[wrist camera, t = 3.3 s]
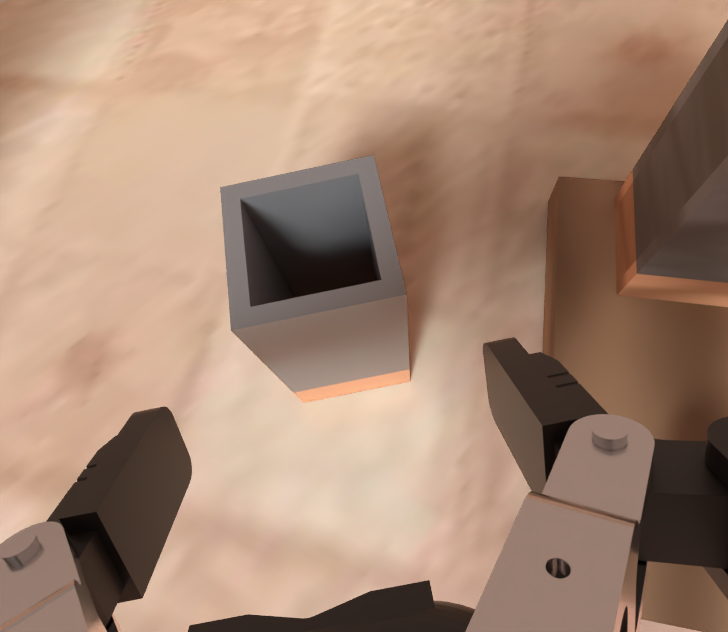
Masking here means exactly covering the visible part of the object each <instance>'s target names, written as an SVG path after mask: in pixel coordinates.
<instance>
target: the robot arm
mask: <svg viewBox="0 0 728 632" xmlns="http://www.w3.org/2000/svg"><path fill="white" fill-rule="evenodd" d="M483 355H484V364H485V373H486V381H487V390H488V398H489V404H490V408H491V412H492V415H493V418H494V420H495V422H496V424H497V426H498V428H499V430H500V432H501V434H502V436H503V438H504V439H505V441H506V443H507V445H508V447H509V449H510V451H511V453H512V454H513V456H514V458H515V460H516V462H517V464H518V466H519V468H520V470H521V471H522V473H523V475H524V477H525V479H526V481H527V483H528V485H529V487H530V488H531V490H532V491H531V492H529V493H528V495H527V496H526V498H525V500H524V502H523V504H522V506H521V508H520V511H519V513H518V515H517V517H516V520H515V522H514V524H513V526H512V529H511V531H510V533H509V535H508V538H507V540H506V542H505V544H504V546H503V549H502V551H501V553H500V555H499V558H498V560H497V562H496V564H495V567H494V569H493V571H492V573H491V576H490V578H489V580H488V582H487V585H486V587H485V589H484V591H483V593H482V596H481V598H480V600H479V602H478V605H477V607H476V609H472V608H469V607H466V606H463V605H460V604H455V603H450V602H443V601H433V596H432V591H431V586H430V581H429V580H428V581H423V582H418V583H412V584H407V585H402V586H396V587H391V588H386V589H381V590H375V591H370V592H368V593H365V594H363V595H361V596H359V597H356V598H354V599H352V600H350V601H347V602H345V603H343V604H341V605H338V606H336V607H334V608H332V609H329V610H327V611H325V612H323V613H320V614H318V615H316V616H313V617H311V618H305V619H301V618H287V617H274V616H261V615H243V616H238V617H232V618H227V619H222V620H216V621H211V622H206V623H200V624H195V625H190V626H189V629H188V632H639V628H640V621H641V615H642V608H643V602H644V595H645V589H646V582H647V576H648V569H649V563H650V562H660V563H671V564H681V565H691V566H701V567H704V569H705V570H706V571H707V573H708V574H709V575H710V577H711V578H712V579H713V581H714V582H715V583H716V585H717V586H718V588H719V589H720V590H721V592H722V593H723V594H724V596H725V597H726V598H727V600H728V417H723V418H720V419H718V420H716V421H714V422H713V423H712V424H711V425H710V426H709V427H708V430H707V440H706V441H683V440H661V439H654V438H653V436H652V434H651V432H650V431H649V430H648V429H647V428H645V427H644V426H643V425H641V424H640V423H638V422H636V421H634V420H631V419H629V418H626V417H622V416H618V415H610V414H608V413H607V412H606V411H605V410H604V409H603V408H602V407H601V406H600V405H599V403H598V402H597V401H596V400H595V399H594V398H593V397H592V396H591V395H590V394H589V393H588V392H587V391H586V390H585V388H584V387H583V386H582V385H581V384H578V381H577V380H576V379H575V378H574V377H573V376H572V375H571V374H569V371H568V370H567V369H566V368H565V367H564V366H563V365H562V364H561V363H560V362H559V361H558V360H556V359H554V358H552V357H550V356H548V355H546V354H543V353H541V352H539V353H534V354H528V353H527V351H526V350H525V349H524V348H523V347H522V345H521V344H520V343H519V342H518V341H517V339H516V338H514V337H513V338H508V339H503V340H498V341H493V342H488V343H484V345H483ZM86 467H87V469H84V470H83V472H82V473H81V475H80V476H79V477H78V479H77V482H75V483H74V484H73V485H72V487H71V488H70V490H69V491H68V492H67V494H66V495H65V496H64V498H63V499H62V501H61V502H60V503H59V505H58V506H57V507H56V509H55V510H54V512H53V513H52V514H51V516H50V517H49V518H48V520H47V521H46V522H43V523H39V524H35V525H32V526H30V527H28V528H25V529H23V530H21V531H20V532H18V533H16V534H14V535H13V536H11V537H10V538H8V539H7V540H5V541H4V542H3V543H1V544H0V632H121V629H120V626H119V624H118V622H117V620H116V619H115V617H114V615H113V612H114V609H115V607H116V605H117V603H120V602H125V601H131V600H136V599H141V598H143V596H144V593H145V591H146V588H147V586H148V583H149V581H150V579H151V576H152V574H153V571H154V569H155V566H156V564H157V561H158V559H159V557H160V554H161V552H162V549H163V547H164V544H165V542H166V539H167V537H168V535H169V532H170V530H171V527H172V525H173V522H174V520H175V517H176V515H177V513H178V510H179V508H180V505H181V503H182V500H183V498H184V495H185V493H186V490H187V488H188V486H189V483H190V480H191V475H192V465H191V459H190V456H189V453H188V451H187V448H186V446H185V443H184V441H183V439H182V436H181V434H180V431H179V429H178V427H177V424H176V422H175V419H174V417H173V415H172V413H171V411H170V410H169V409H168V408H167V407H159V408H154V409H149V410H144V411H139V412H135V413H133V414H132V415H131V417H130V418H129V420H128V421H127V422H126V424H125V425H124V427H123V428H122V429H121V431H120V432H119V434H118V435H117V436H115V437H114V438H113V439H111V440H110V441H109V442H108V443H107V444H105V445H104V446H103V447H102V448H101V449H99V450H98V451H97V453H96V454H95V455H94V457H93V458H92V459H91V461H90V462H89V464H88V465H87V466H86Z"/></svg>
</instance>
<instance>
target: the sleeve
mask: <svg viewBox="0 0 728 632" xmlns="http://www.w3.org/2000/svg"><path fill="white" fill-rule="evenodd" d="M220 189H221V203H222V216H223V229H224V242H225V256H226V269H227V282H228V295H229V309H230V322H231V331H232V332H233V333H234V334H235V335H236V336H237V337H238V338H239V339H240V340H241V341H242V342H243V343H244V344H245V345H246V346H247V347H248V348H249V349H250V350H251V351H252V352H253V353H254V354H255V355H256V356H257V357H258V358H259V359H260V360H261V361H262V362H263V363H264V364H265V365H266V366H267V367H268V368H269V369H270V370H271V371H272V372H273V373H274V374H275V375H276V376H277V377H278V378H279V379H280V380H281V381H282V382H283V383H284V384H285V385H286V386H287V387H288V388H289V389H290V390H291V391H292V392H293V393H294V394H295V395H296V396H297V397H298V398H299V399H300V400H301V401H302V402H303V403H305V402H310V401H315V400H320V399H325V398H330V397H335V396H340V395H345V394H349V393H354V392H359V391H364V390H369V389H374V388H379V387H384V386H389V385H394V384H399V383H404V382H409V381H410V367H409V339H408V311H407V293H406V289H405V284H404V280H403V276H402V272H401V268H400V263H399V259H398V255H397V251H396V247H395V242H394V238H393V234H392V230H391V226H390V222H389V217H388V213H387V209H386V205H385V201H384V196H383V192H382V188H381V184H380V180H379V175H378V171H377V167H376V163H375V159H374V155H371V156H366V157H361V158H357V159H352V160H347V161H343V162H338V163H333V164H328V165H324V166H319V167H314V168H309V169H305V170H300V171H295V172H291V173H286V174H281V175H276V176H272V177H267V178H262V179H258V180H253V181H248V182H243V183H239V184H234V185H229V186H225V187H220Z"/></svg>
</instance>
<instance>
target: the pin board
mask: <svg viewBox="0 0 728 632" xmlns="http://www.w3.org/2000/svg"><path fill="white" fill-rule="evenodd" d="M543 354H546V355H548V356H550V357H552V358H554V359H556V360H558V361H559V362H560V363H561V364H562V365H563V366H564V367H565V368H566V369H567V370H568V371H569V374H571V375H572V376H573V377H574V378H575V379H576V380H577V381H578V384H581V385H582V386H583V387H584V388H585V390H586V391H587V392H588V393H589V394H590V395H591V396H592V397H593V398H594V399H595V400H596V401H597V402H598V403H599V405H600V406H601V407H602V408H603V409H604V410H605V411H606V412H607V413H608V414H610V415H618V416H622V417H626V418H629V419H631V420H634V421H636V422H638V423H640V424H641V425H643V426H644V427H645V428H647V429H648V430H649V431H650V432H651V434H652V436H653V438H654V439H661V440H683V441H706V440H707V430H708V427H709V426H710V425H711V424H712V423H713V422H714V421H716V420H718V419H720V418H723V417H728V20H727V22H726V23H725V25H724V27H723V28H722V30H721V31H720V33H719V34H718V36H717V38H716V39H715V41H714V42H713V44H712V46H711V47H710V49H709V50H708V52H707V53H706V55H705V57H704V58H703V60H702V61H701V63H700V64H699V66H698V68H697V69H696V71H695V72H694V74H693V75H692V77H691V79H690V80H689V82H688V83H687V85H686V87H685V88H684V90H683V91H682V93H681V94H680V96H679V98H678V99H677V101H676V102H675V104H674V105H673V107H672V109H671V110H670V112H669V113H668V115H667V116H666V118H665V120H664V121H663V123H662V124H661V126H660V128H659V129H658V131H657V132H656V134H655V135H654V137H653V139H652V140H651V142H650V143H649V145H648V146H647V148H646V150H645V151H644V153H643V154H642V156H641V157H640V159H639V161H638V162H637V164H636V165H635V167H634V169H633V170H632V172H631V173H630V175H629V176H628V178H627V180H626V181H612V180H598V179H584V178H570V177H559V178H558V180H557V183H556V185H555V187H554V190H553V192H552V194H551V197H550V199H549V201H548V226H547V253H546V280H545V306H544V333H543ZM641 619H643V620H648V621H653V622H658V623H663V624H668V625H673V626H678V627H682V628H687V629H692V630H697V631H702V632H728V600H727V598H726V597H725V596H724V594H723V593H722V592H721V590H720V589H719V588H718V586H717V585H716V583H715V582H714V581H713V579H712V578H711V577H710V575H709V574H708V573H707V571H706V570H705V569H704V567H701V566H691V565H681V564H671V563H660V562H650V563H649V569H648V576H647V582H646V589H645V595H644V602H643V608H642V615H641Z"/></svg>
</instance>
